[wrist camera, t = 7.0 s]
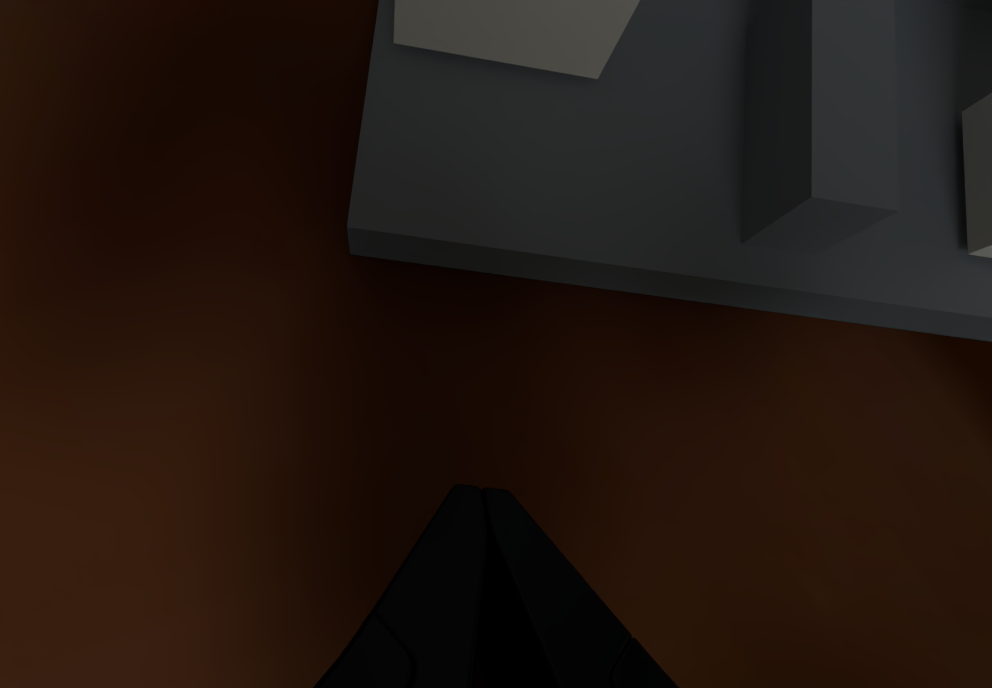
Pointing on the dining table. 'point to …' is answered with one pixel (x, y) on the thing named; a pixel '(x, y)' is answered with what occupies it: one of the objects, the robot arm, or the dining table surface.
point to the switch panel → (699, 160)
